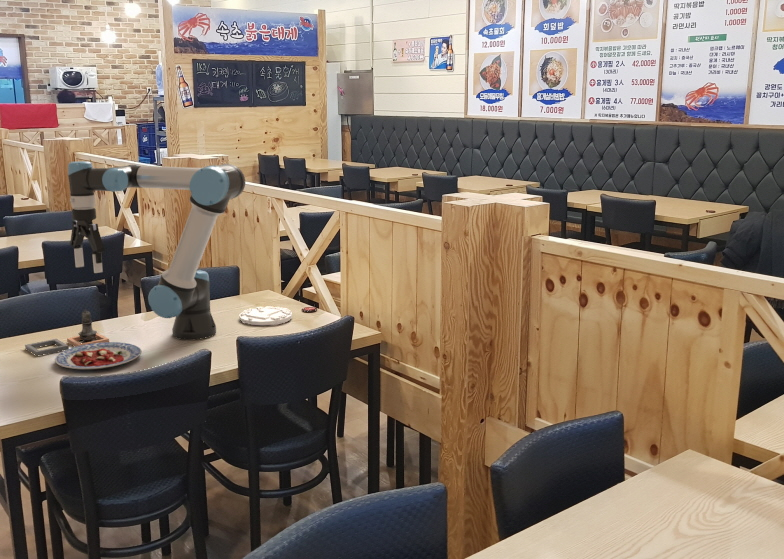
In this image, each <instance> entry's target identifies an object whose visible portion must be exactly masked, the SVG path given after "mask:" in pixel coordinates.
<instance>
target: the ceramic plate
mask: <svg viewBox="0 0 784 559" xmlns="http://www.w3.org/2000/svg"><path fill="white" fill-rule="evenodd" d="M141 354H142V349H141V347H139V346H137V345H135V344H132V343H126V342H121V341H120V342H118V341H116V342H115V341H109V342H102V343H93V344H86V345H81V346H77V347H74V346H72V347H70V348H69V349H68V350H65V351H61V352H59V353H58V354H57V355H56V356H55V358H54V362H55V363H56V364H57V365H58V366H60V367H64V368H67V369H74V370H99V369H107V368H113V367H116V366H120V365H123V364H127V363H129V362H131V361H134V360H136V359H137V358H139V357H140V356H141Z"/></svg>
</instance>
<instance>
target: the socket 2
mask: <svg viewBox="0 0 784 559" xmlns="http://www.w3.org/2000/svg"><path fill="white" fill-rule="evenodd" d="M94 339H95V341H91V342H86V343H82V344H81V341H80V340H82V339H81V338H80V335H77V336H72V337H67V338H66V343H67V342H69V343H70V344H69V343H68V344H69V345H71V344H72V345H71V346H73V345H74V346H75V347H77V346H81V345H86V344H93V343H102V342H110V338H108V337H106V336H104V335H102V334H100V333H99V332H97V333H96V337H95V338H94ZM74 346H73V347H74Z"/></svg>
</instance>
